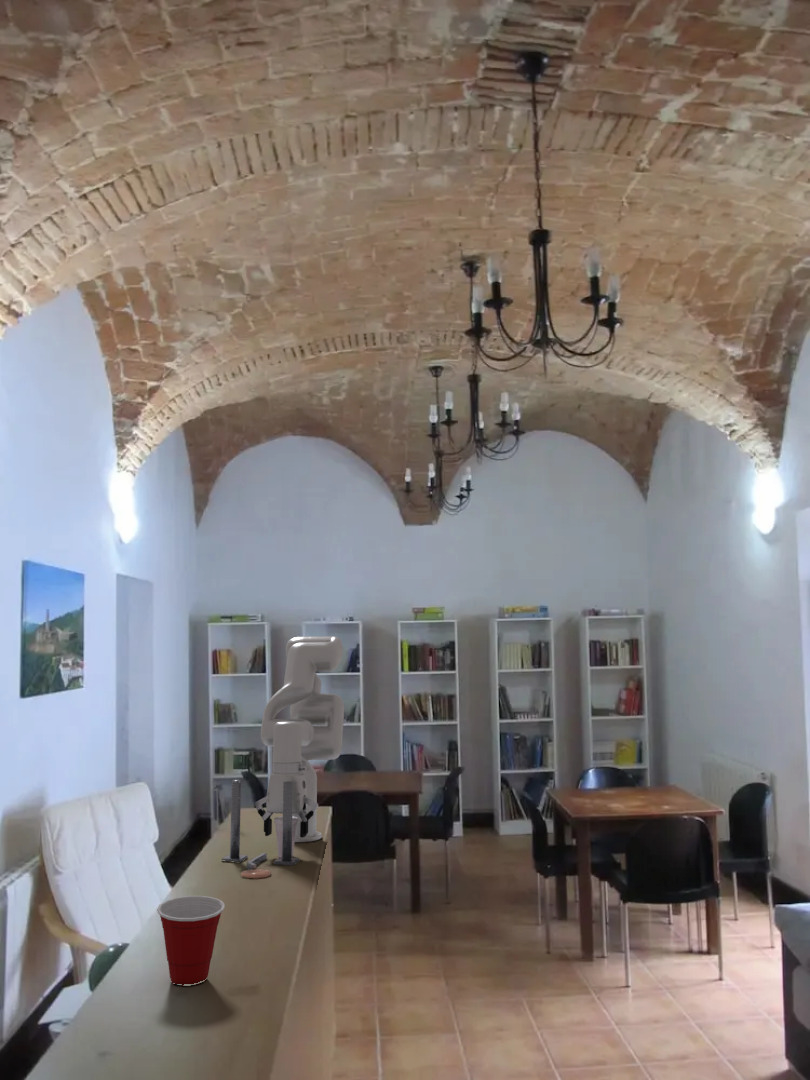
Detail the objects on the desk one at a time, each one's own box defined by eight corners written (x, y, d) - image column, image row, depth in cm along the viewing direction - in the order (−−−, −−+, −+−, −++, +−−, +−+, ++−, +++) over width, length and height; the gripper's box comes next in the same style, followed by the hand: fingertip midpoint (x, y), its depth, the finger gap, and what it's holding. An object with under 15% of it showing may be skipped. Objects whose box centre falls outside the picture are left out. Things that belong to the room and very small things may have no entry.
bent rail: (263, 858, 239) (263, 852, 239) (275, 859, 238) (275, 853, 238) (242, 871, 225) (242, 864, 225) (255, 871, 224) (255, 865, 225)
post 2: (280, 860, 237) (282, 780, 239) (299, 861, 236) (300, 780, 238) (274, 864, 232) (275, 783, 235) (292, 865, 231) (294, 783, 234)
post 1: (229, 857, 240) (231, 778, 242) (247, 858, 239) (249, 779, 241) (221, 861, 235) (223, 781, 238) (240, 862, 234) (241, 781, 237)
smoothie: (300, 854, 244) (301, 799, 246) (295, 859, 238) (295, 803, 240) (276, 853, 245) (277, 799, 247) (270, 858, 239) (271, 803, 240)
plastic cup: (155, 996, 143) (158, 915, 145) (153, 973, 153) (156, 898, 155) (226, 989, 146) (228, 910, 148) (220, 967, 156) (222, 893, 158)
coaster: (247, 871, 225) (247, 868, 225) (274, 872, 224) (274, 869, 224) (236, 877, 218) (236, 875, 218) (264, 879, 217) (264, 876, 217)
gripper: (322, 768, 246) (321, 834, 243) (261, 766, 249) (259, 832, 247) (313, 771, 239) (312, 839, 236) (250, 769, 242) (249, 837, 240)
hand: (285, 835), depth 242 cm, fingers open, 9 cm apart
